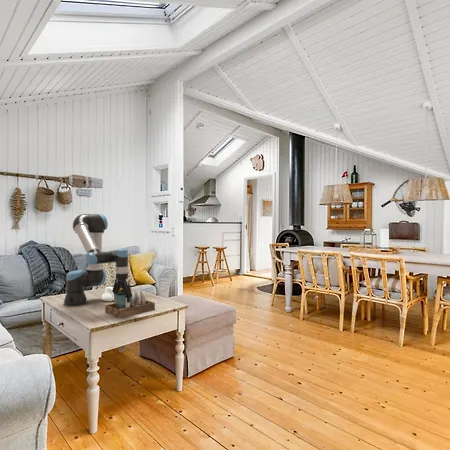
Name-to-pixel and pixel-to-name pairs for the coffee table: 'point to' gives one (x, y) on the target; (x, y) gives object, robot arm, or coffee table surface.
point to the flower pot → (121, 300)
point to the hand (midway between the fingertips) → (121, 305)
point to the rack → (131, 306)
